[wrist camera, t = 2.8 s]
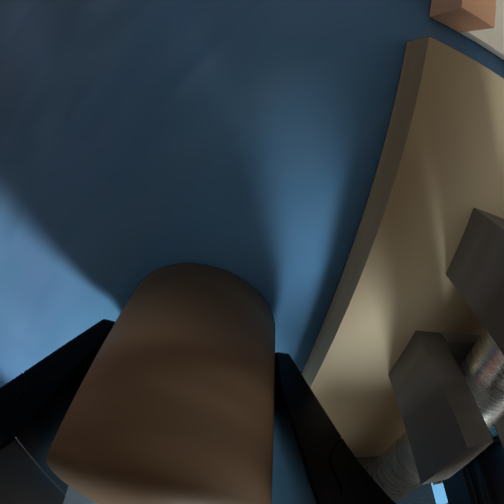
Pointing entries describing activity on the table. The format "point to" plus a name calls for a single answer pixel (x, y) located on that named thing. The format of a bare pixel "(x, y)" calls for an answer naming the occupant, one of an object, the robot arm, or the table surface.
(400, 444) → the shaft
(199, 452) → the brown dome-ended cylinder
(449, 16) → the picture frame
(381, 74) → the table surface
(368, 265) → the beige piece
